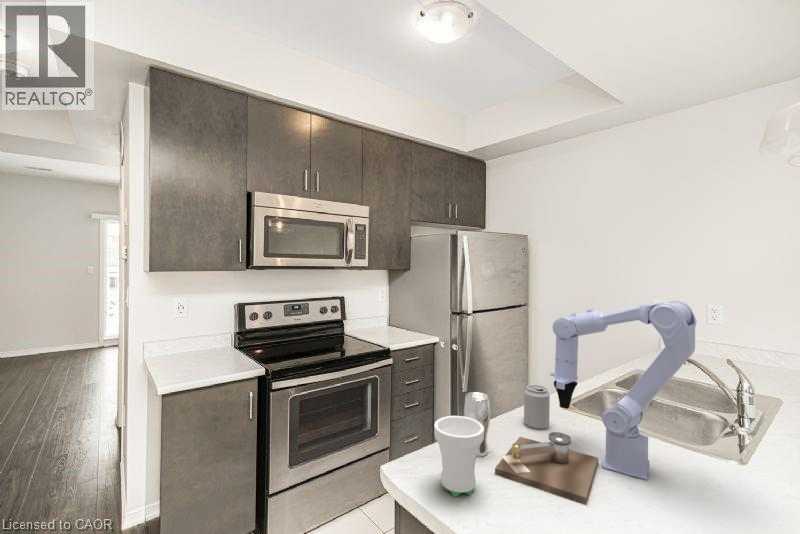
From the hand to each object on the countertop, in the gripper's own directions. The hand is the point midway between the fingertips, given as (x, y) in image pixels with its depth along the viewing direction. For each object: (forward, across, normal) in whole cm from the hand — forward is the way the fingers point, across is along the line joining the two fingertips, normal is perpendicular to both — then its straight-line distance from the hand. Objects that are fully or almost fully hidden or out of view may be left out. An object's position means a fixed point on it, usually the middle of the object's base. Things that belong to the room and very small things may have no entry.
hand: (564, 407), depth 107 cm
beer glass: (+11, +18, -18) cm, 28 cm away
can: (+11, -8, -10) cm, 16 cm away
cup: (+11, +36, -16) cm, 41 cm away
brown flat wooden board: (+10, +16, 0) cm, 19 cm away
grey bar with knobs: (+9, +17, -2) cm, 19 cm away
